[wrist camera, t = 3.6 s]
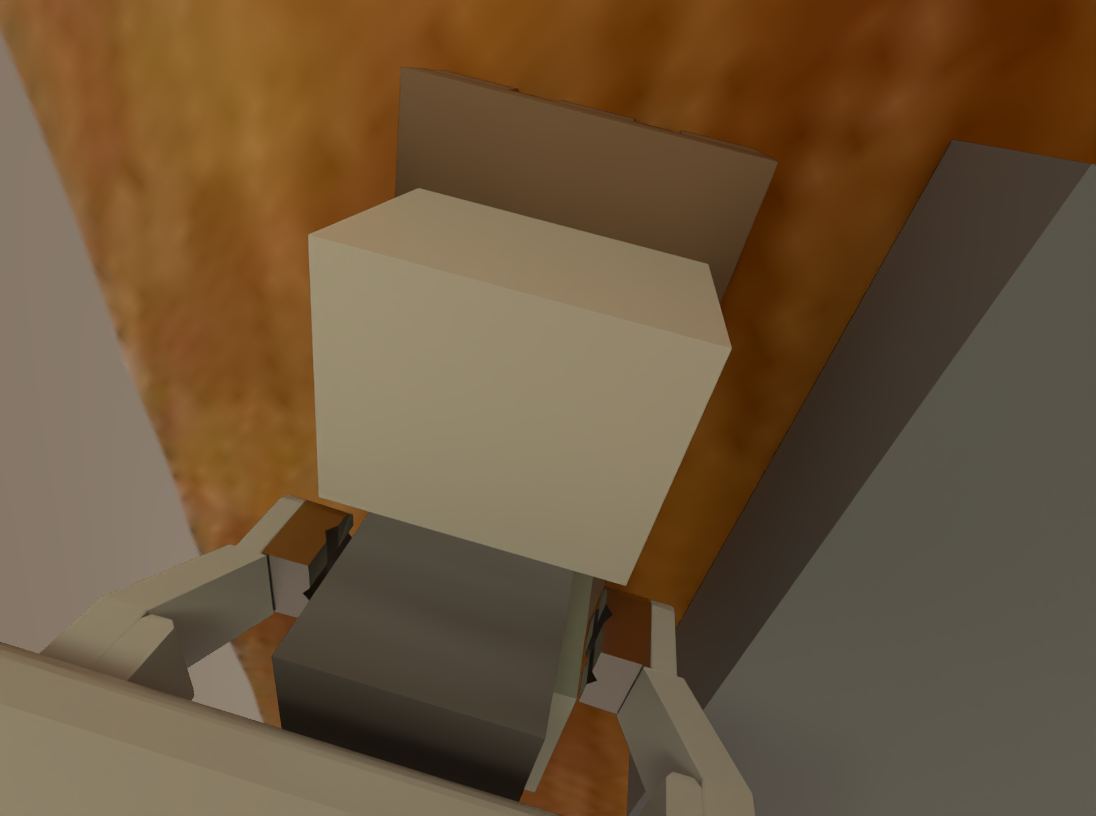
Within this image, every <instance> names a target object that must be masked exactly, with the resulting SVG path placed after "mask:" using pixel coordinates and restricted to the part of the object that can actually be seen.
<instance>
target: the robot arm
mask: <svg viewBox="0 0 1096 816" xmlns="http://www.w3.org/2000/svg"><path fill="white" fill-rule="evenodd" d="M352 527H353V515H352V514H349V513H346V512H343V511H340V510H337V509H334V508H331V507H328V506H324V505H321V504H318V503H315V502H312V501H308V500H305V499H302V498H298V497H295V496H292V495H289V494H287V495H285V496H283V497H281V498H280V499H279V500H278V501H277V502H276V503H275V504H274V505H273V506H272V507H271V509H270V510H269V511H268V512H267V513H266V514H265V515H264V516H263V517H262V518H261V519H260V520H259V521H258V523H257V524H256V525H255V526H254V527H253V528H252V529H251V530H250V531H249V532H248V533H247V534H246V535H245V537H244V538H243V539H242V540H241V541H240V542H239V543H238V544H237V545H236V546H234V545H230V544H229V545H226V546H224V547H221V548H219V549H217V550H214V551H212V552H209V553H207V554H204V555H202V556H199V557H197V558H195V559H192V560H190V561H187V562H185V563H183V564H180V565H178V566H175V567H173V568H171V569H168V570H165V571H163V572H160V573H158V574H156V575H153V576H151V577H148V578H146V579H143V580H141V581H139V582H136V583H134V584H131V585H129V586H127V587H124V588H122V589H119V590H117V591H114V592H112V593H109V594H107V595H105V596H102V597H101V598H100V599H99V600H98V601H97V602H95V603H94V604H93V605H92V606H91V607H90V608H89V609H88V610H87V611H86V612H84V613H83V614H82V615H81V616H80V617H79V618H78V619H77V620H76V621H75V622H73V623H72V624H71V625H70V626H69V627H68V628H67V629H66V630H65V631H64V632H62V634H60V635H59V636H58V637H57V638H56V639H55V640H54V641H53V642H51V643H50V644H49V645H48V646H47V647H46V648H45V649H44V650H43V651H42V652H41V653H39V654H37V653H34V652H31V651H27V650H25V649H21V648H18V647H15V646H12V645H8V644H5V643H2V642H0V816H562V815H559V814H556V813H553V812H549V811H546V810H543V809H540V808H536V807H533V806H530V805H527V804H523V803H520V802H517V801H514V800H511V799H507V798H504V797H501V796H498V795H494V794H491V793H488V792H485V791H481V790H478V789H475V788H472V787H469V786H465V785H462V784H459V783H456V782H452V781H449V780H446V779H443V778H439V777H436V776H433V775H430V774H427V773H423V772H420V771H417V770H414V769H410V768H407V767H404V766H401V765H397V764H394V763H391V762H388V761H384V760H381V759H378V758H375V757H371V756H368V755H365V754H362V753H359V752H355V751H352V750H349V749H346V748H342V747H339V746H336V745H333V744H329V743H326V742H323V741H320V740H316V739H313V738H310V737H307V736H303V735H300V734H297V733H294V732H290V731H287V730H284V729H281V728H278V727H274V726H271V725H268V724H265V723H261V722H258V721H255V720H251V719H248V718H245V717H242V716H239V715H235V714H232V713H229V712H225V711H222V710H219V709H216V708H212V707H209V706H206V705H203V704H199V703H196V702H193V701H191V700H192V699H193V697H194V691H193V686H192V683H191V680H190V677H189V673H188V670H187V668H188V667H190V666H191V665H193V664H194V663H196V662H198V661H199V660H201V659H202V658H204V657H206V656H207V655H209V654H210V653H212V652H214V651H215V650H217V649H218V648H220V647H222V646H223V645H225V644H226V643H228V642H230V641H231V640H233V639H234V638H236V637H237V636H239V635H241V634H242V633H244V632H245V631H247V630H249V629H250V628H252V627H253V626H255V625H257V624H258V623H260V622H261V621H263V620H264V619H266V618H268V617H269V616H271V615H272V614H273V613H274V612H278V613H282V614H285V615H289V616H293V617H297V618H298V617H299V615H300V614H301V612H302V611H303V609H304V608H305V606H306V605H307V603H308V602H309V600H310V599H311V598H312V596H313V595H314V593H315V592H316V590H317V589H318V587H319V586H320V584H321V583H322V581H323V580H324V578H325V577H326V575H327V574H328V573H329V571H330V570H331V568H332V567H333V565H334V564H335V562H336V561H337V559H338V558H339V556H340V555H341V553H342V552H343V550H344V549H345V548H346V546H347V545H348V543H349V542H350V540H351V539H352V537H351V536H350V534H349V533H348V532H349V531H350V530H351V528H352ZM273 611H274V612H273ZM585 653H586V655H587V658H588V660H587V662H586V665H585V667H584V669H583V672H582V680H581V689H580V697H579V702H582V703H585V704H588V705H591V706H594V707H597V708H600V709H603V710H606V711H609V712H612V713H615V714H618V715H617V718H618V721H619V724H620V726H621V729H622V731H623V734H624V737H625V739H626V742H627V744H628V747H629V750H630V752H631V755H632V757H633V760H634V762H635V765H636V768H637V770H638V773H639V775H640V778H641V781H642V783H643V786H644V788H645V791H646V794H647V796H648V799H649V801H648V803H647V804H646V805H645V807H644V808H643V809H642V811H641V812H640V813H639V815H638V816H755V810H754V802H753V795H752V793H751V791H750V789H749V788H748V786H747V784H746V782H745V781H744V779H743V777H742V776H741V774H740V772H739V771H738V769H737V767H736V766H735V764H734V762H733V761H732V759H731V757H730V755H729V754H728V752H727V750H726V749H725V747H724V745H723V744H722V742H721V740H720V739H719V737H718V735H717V734H716V732H715V730H714V729H713V727H712V725H711V723H710V722H709V720H708V718H707V717H706V715H705V713H704V712H703V710H702V708H701V707H700V705H699V703H698V702H697V700H696V698H695V696H694V695H693V693H692V691H691V690H690V688H689V686H688V685H687V683H686V681H685V680H684V678H681V677H678V676H677V661H676V634H675V610H674V608H673V606H670V605H667V604H664V603H660V602H657V601H653V600H649V599H648V598H644V597H640V596H637V595H633V594H629V593H626V592H622V591H619V590H615V589H611V588H608V587H606V588H605V589H604V591H603V593H602V595H601V599H600V607H599V609H597V610H595V613H594V615H593V618H592V621H591V624H590V628H589V631H588V637H587V642H586V649H585Z"/></svg>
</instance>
